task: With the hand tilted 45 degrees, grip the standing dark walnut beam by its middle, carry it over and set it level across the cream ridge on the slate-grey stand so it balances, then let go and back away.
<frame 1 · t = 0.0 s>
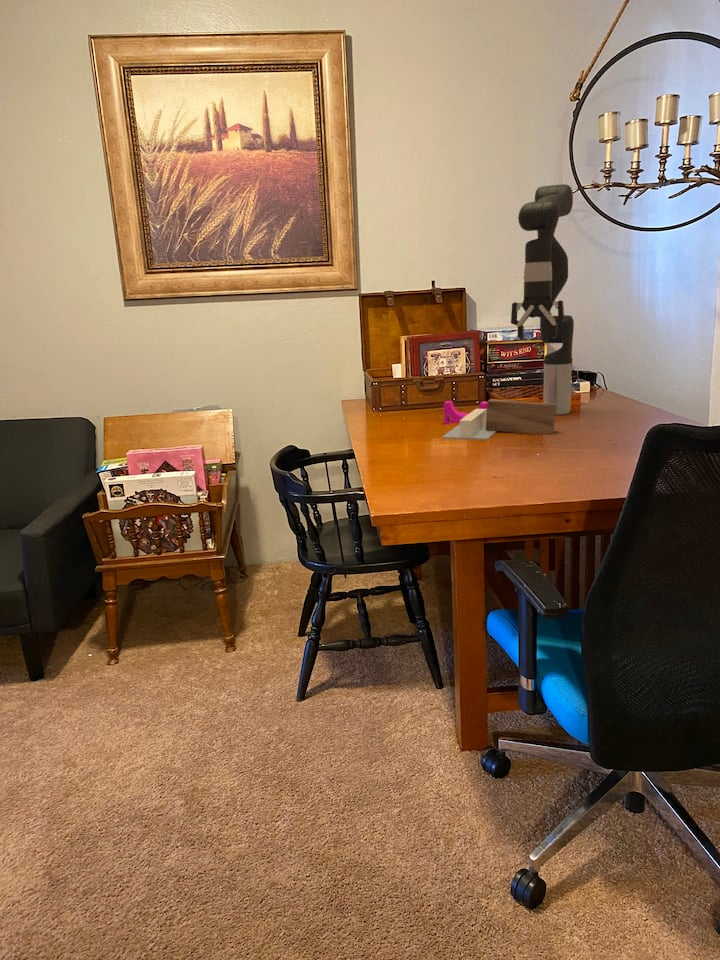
hand: (536, 339, 195), 29 cm above the table, tool pointing down, fingers open, 8 cm apart
magenta curved piece: (468, 424, 233), on the table
beam: (519, 431, 213), point 1 cm above the table
fulcrum: (473, 433, 216), on the table
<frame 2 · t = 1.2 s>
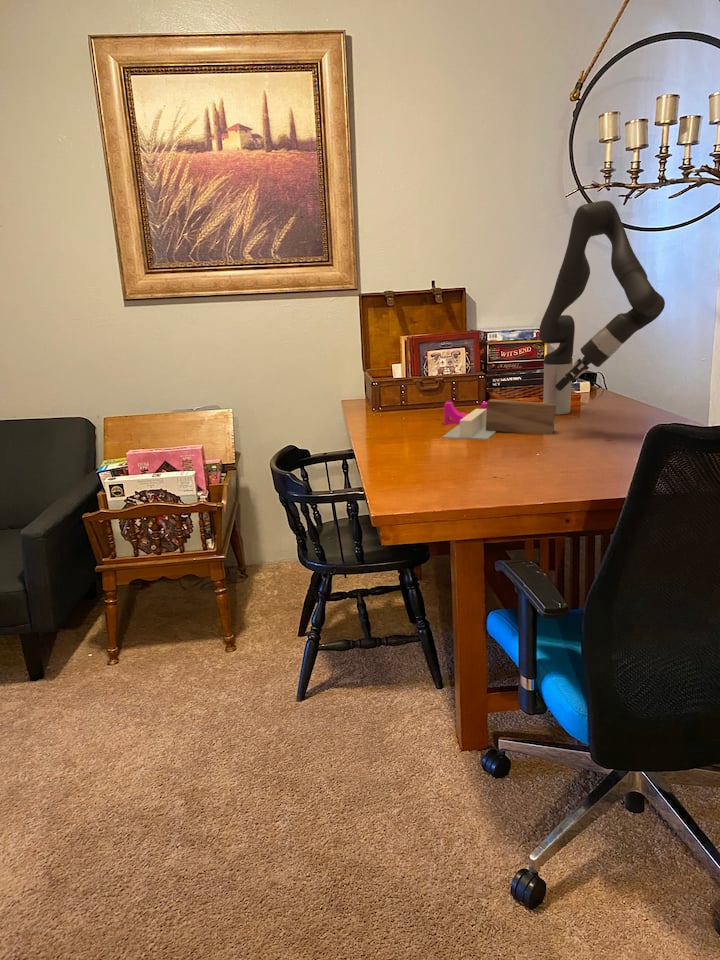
hand: (559, 386, 204), 15 cm above the table, tool tilted 45°, fingers open, 8 cm apart
magenta curved piece: (468, 424, 232), on the table
beam: (519, 431, 213), point 1 cm above the table, touching fulcrum
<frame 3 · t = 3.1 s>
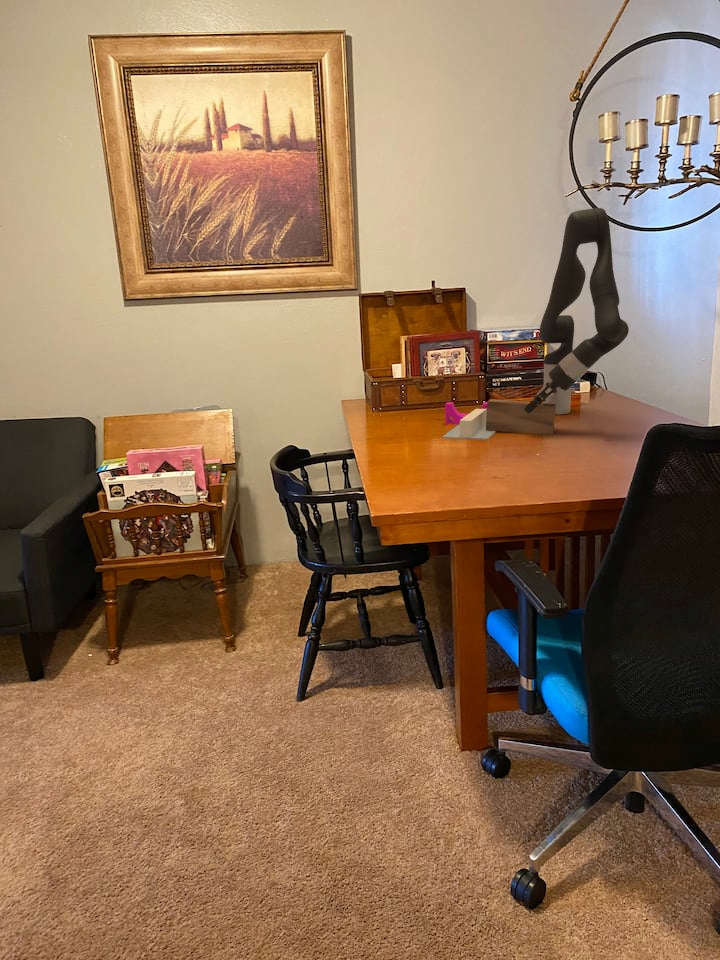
hand: (528, 408, 210), 8 cm above the table, tool tilted 45°, fingers open, 8 cm apart
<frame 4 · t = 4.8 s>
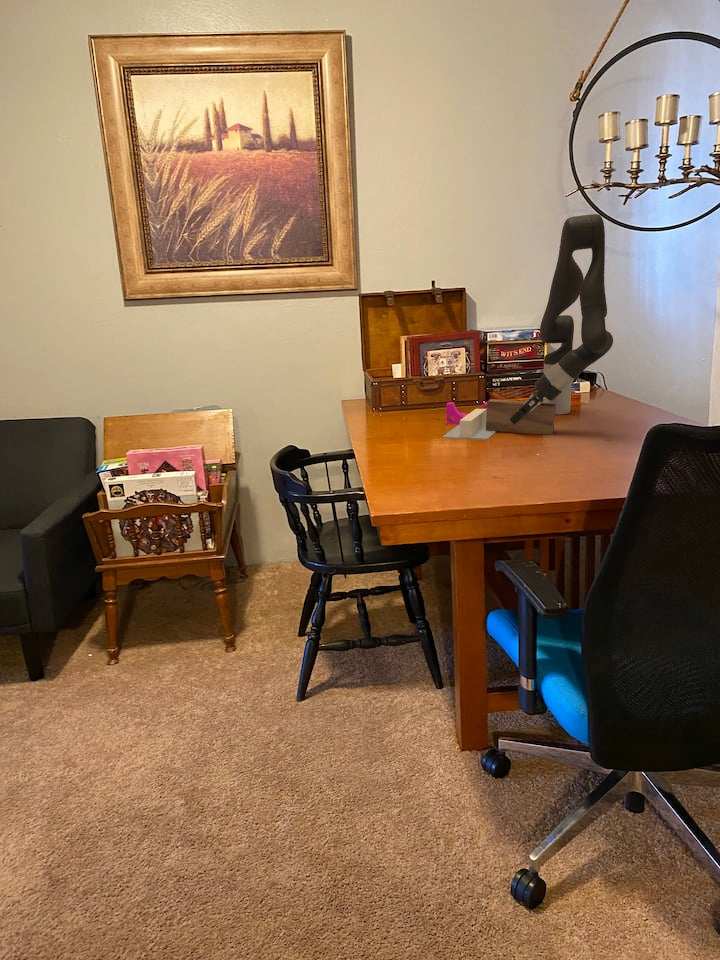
hand: (513, 420, 212), 4 cm above the table, tool tilted 45°, fingers closed on beam, 4 cm apart
beam: (519, 431, 213), point 1 cm above the table, touching fulcrum, gripper
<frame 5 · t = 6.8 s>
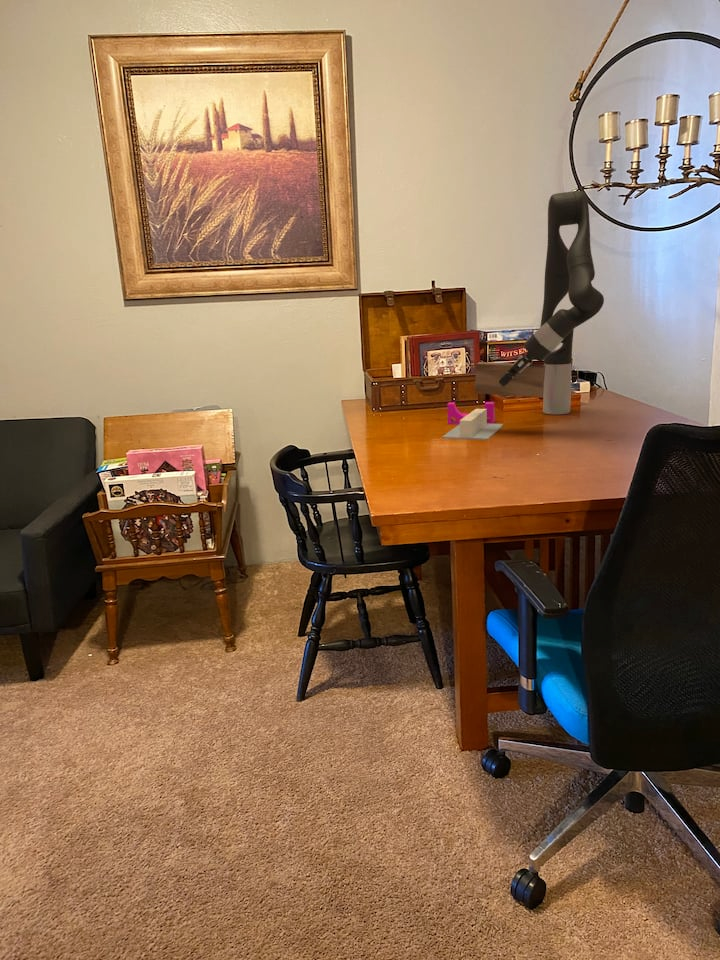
hand: (503, 382, 210), 16 cm above the table, tool tilted 45°, fingers closed on beam, 4 cm apart
beam: (508, 394, 210), point 12 cm above the table, touching gripper
everything else where it was.
when the fingers open (11 cm above the table, at t = 8.9 s): beam drops 1 cm, resting on fulcrum.
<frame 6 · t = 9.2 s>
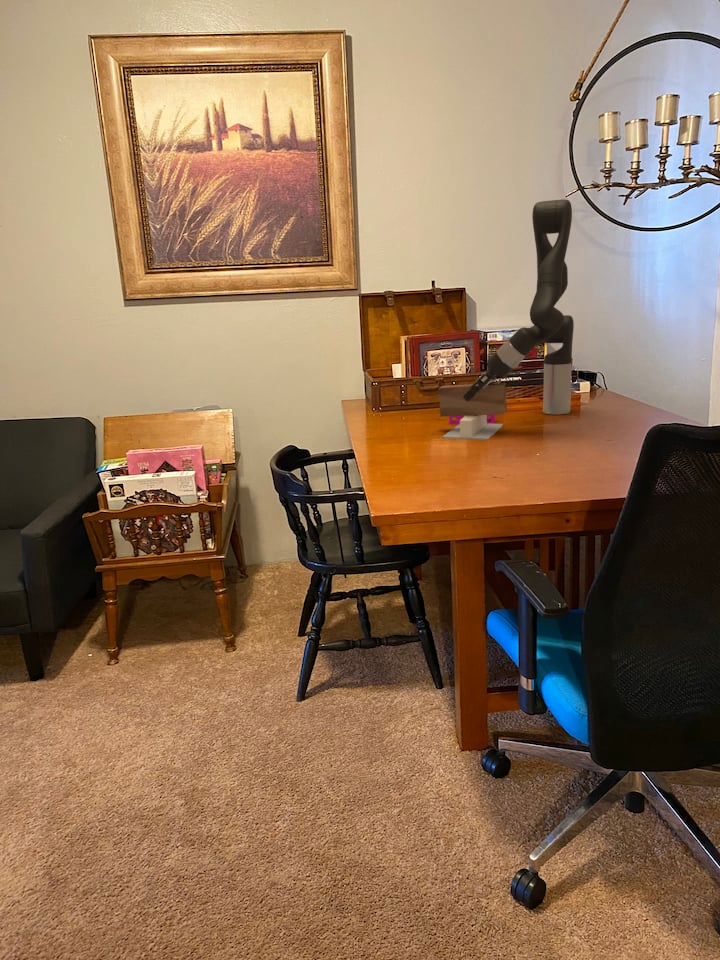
hand: (468, 397, 214), 11 cm above the table, tool tilted 45°, fingers open, 6 cm apart
beam: (473, 414, 215), point 6 cm above the table, touching fulcrum
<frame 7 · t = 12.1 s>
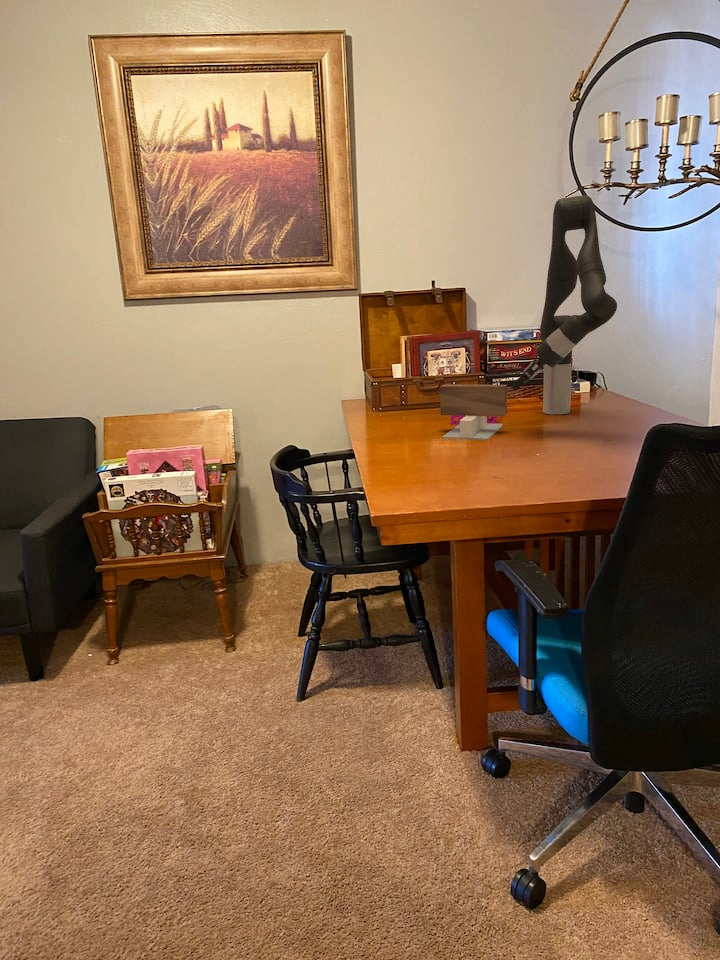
hand: (516, 386, 208), 15 cm above the table, tool tilted 45°, fingers open, 8 cm apart
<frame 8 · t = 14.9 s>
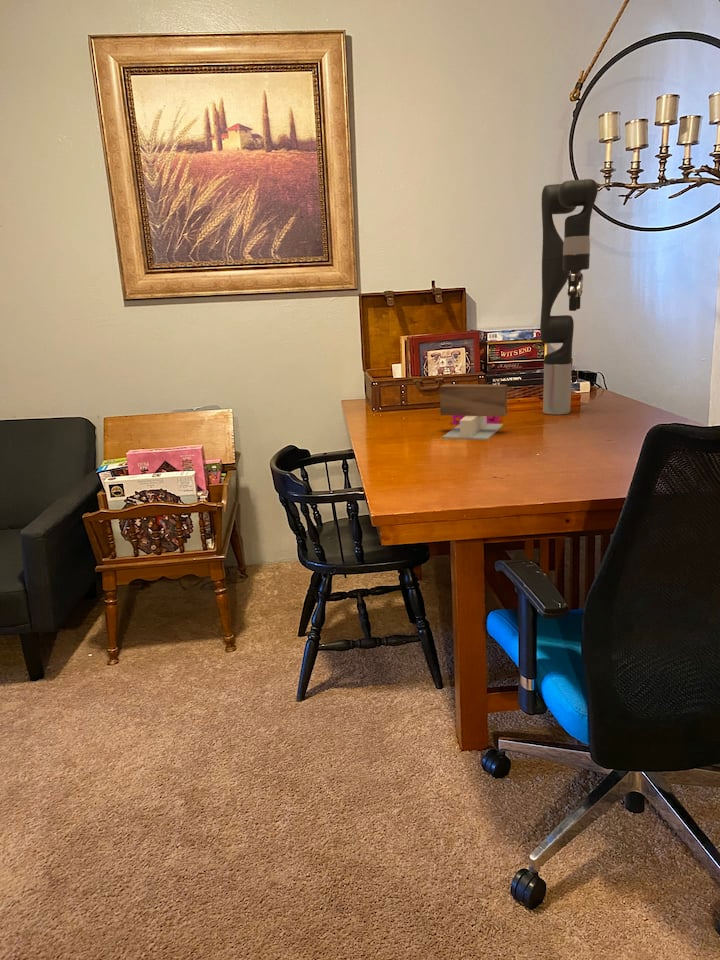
hand: (574, 310, 206), 36 cm above the table, tool pointing down, fingers open, 8 cm apart
at the end: beam 0.1 cm off-centre on the fulcrum, point 6.0 cm above the fulcrum's base; beam tilted 0°; the gripper is holding nothing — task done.
